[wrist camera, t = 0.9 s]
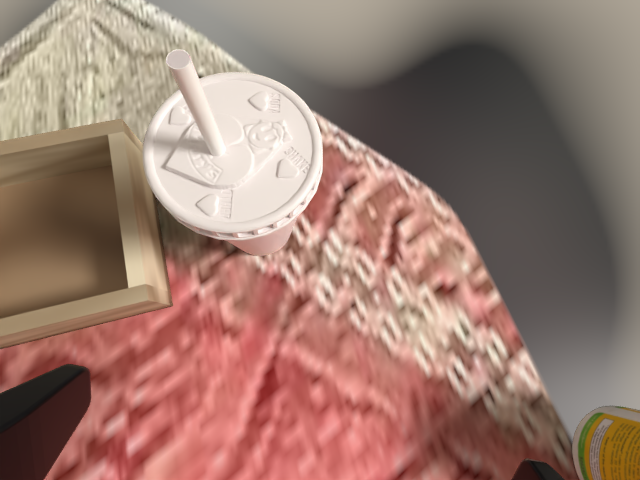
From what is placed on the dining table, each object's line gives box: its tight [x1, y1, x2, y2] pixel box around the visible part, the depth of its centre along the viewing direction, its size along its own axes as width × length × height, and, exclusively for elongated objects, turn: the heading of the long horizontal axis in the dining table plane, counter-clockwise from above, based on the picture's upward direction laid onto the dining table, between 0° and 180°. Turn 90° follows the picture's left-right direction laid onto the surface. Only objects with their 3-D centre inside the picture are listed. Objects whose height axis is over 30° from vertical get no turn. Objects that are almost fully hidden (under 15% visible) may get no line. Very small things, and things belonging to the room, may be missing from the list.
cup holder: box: [0, 119, 173, 349], centre depth 19 cm, size 10×10×4 cm
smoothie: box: [143, 49, 323, 256], centre depth 15 cm, size 6×6×14 cm
